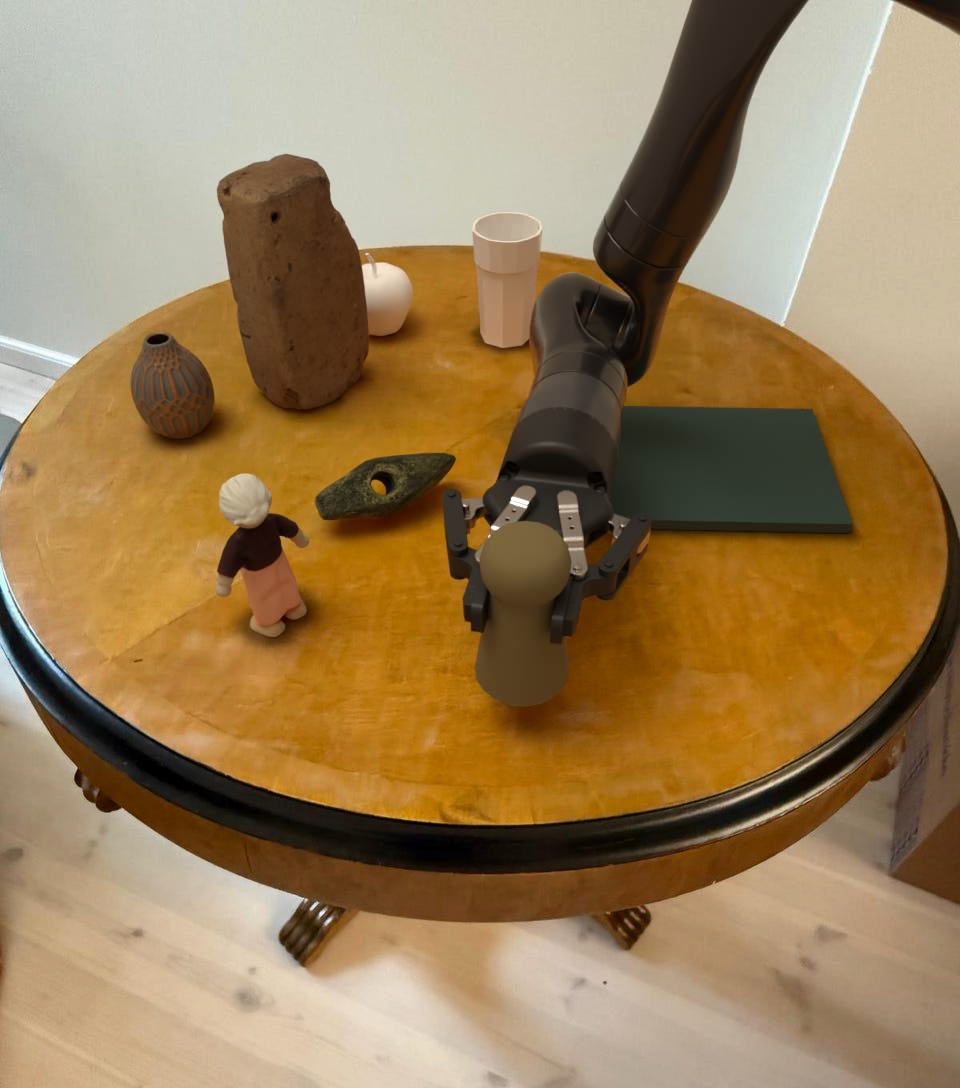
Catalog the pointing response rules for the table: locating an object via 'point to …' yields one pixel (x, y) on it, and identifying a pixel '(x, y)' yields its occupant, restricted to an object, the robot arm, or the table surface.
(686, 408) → the mat
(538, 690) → the cork
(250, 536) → the grandmother figurine
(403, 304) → the plain white apple
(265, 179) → the block
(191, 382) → the vase
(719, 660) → the table surface
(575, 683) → the table surface
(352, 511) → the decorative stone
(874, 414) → the table surface
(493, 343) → the cup
